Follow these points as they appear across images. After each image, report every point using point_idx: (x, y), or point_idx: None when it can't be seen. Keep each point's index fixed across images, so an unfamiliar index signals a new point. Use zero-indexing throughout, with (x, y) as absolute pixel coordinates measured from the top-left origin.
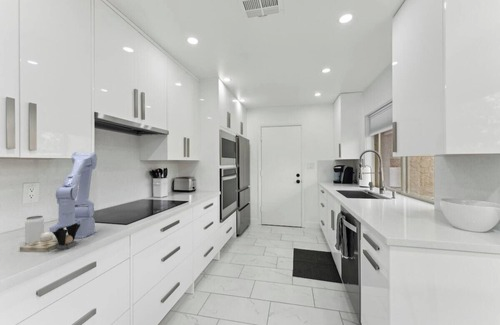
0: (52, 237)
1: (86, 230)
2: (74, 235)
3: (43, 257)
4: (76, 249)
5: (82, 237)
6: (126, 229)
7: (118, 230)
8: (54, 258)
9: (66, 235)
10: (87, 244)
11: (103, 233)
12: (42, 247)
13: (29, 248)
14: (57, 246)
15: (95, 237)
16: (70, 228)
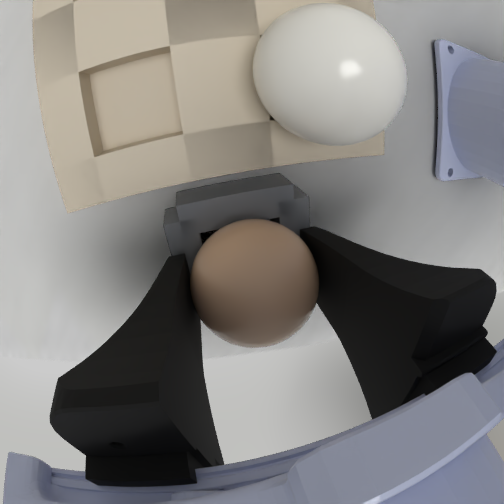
0: (267, 33)
1: (499, 184)
2: (332, 319)
3: (30, 289)
4: (212, 352)
5: (437, 177)
6: (497, 288)
7: (498, 267)
8: (66, 359)
9: (260, 334)
10: (309, 332)
11: (484, 233)
12: (60, 150)
13: (38, 17)
14: (165, 230)
15: (435, 253)
16: (385, 354)
